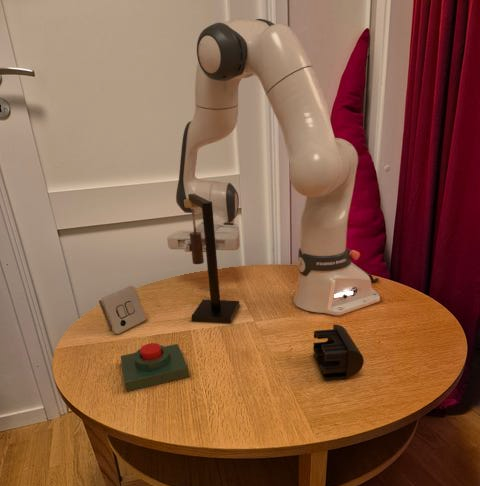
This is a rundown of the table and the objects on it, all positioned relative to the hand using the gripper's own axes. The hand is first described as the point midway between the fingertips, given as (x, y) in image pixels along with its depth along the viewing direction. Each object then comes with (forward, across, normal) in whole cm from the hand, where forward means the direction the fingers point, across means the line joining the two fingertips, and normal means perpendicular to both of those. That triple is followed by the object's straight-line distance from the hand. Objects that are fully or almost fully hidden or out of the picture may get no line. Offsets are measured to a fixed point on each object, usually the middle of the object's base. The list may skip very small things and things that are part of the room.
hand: (195, 249), depth 107 cm
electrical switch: (+18, -14, +14) cm, 27 cm away
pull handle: (-1, 0, +4) cm, 4 cm away
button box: (+36, +1, +14) cm, 38 cm away
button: (+36, +1, +10) cm, 37 cm away
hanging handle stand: (+6, +5, +14) cm, 16 cm away
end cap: (+29, +37, +14) cm, 49 cm away
